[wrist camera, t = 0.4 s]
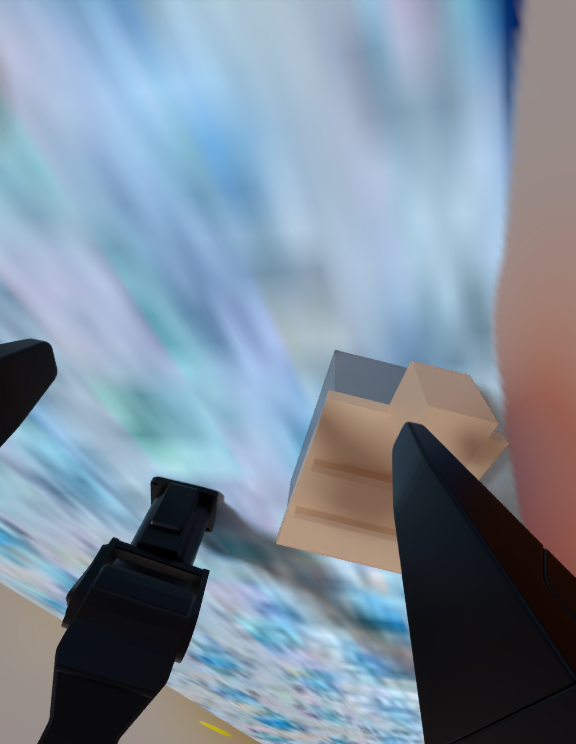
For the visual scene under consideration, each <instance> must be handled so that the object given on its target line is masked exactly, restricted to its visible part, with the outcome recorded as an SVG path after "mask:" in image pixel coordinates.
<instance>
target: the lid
mask: <svg viewBox="0 0 576 744" xmlns="http://www.w3.org/2000/svg"><path fill="white" fill-rule="evenodd" d="M406 422H414V423H418V424H422V425H424V426H425V427H426V428H427V429H428V430H429V431H430V432H431V433H432V434H433V435H434V436H435V437H436V438H437V439H438V440H439V441H440V442H441V443H442V444H443V445H444V446H445V447H446V448H447V449H448V450H449V451H450V452H451V453H452V454H453V455H454V456H455V457H456V458H457V459H458V460H459V461H460V462H461V463H462V464H463V465H464V466H465V467H466V468H467V469H468V470H469V471H470V472H471V473H472V474H473V475H474V476H475V477H476V478H477V479H478V480H479V479H480V478H481V477H482V476H483V475H484V473H485V472H486V471H487V470H488V469H489V467H490V466H491V465H492V464H493V463H494V461H495V460H496V459H497V458H498V457H499V455H500V454H501V453H502V452H503V451H504V449H505V448H506V447H507V446H508V444H509V442H508V441H507V439H506V437H505V436H504V434H503V433H501V432H497V431H494V430H495V429H496V427H497V426H498V425H499V422H498V421H497V419H496V417H495V416H494V414H493V412H492V411H491V409H490V408H489V406H488V404H487V403H486V401H485V399H484V398H483V396H482V394H481V393H480V391H479V389H478V388H477V386H476V385H475V383H474V381H473V380H472V378H471V376H470V375H467V374H463V373H459V372H455V371H451V370H447V369H443V368H439V367H435V366H431V365H427V364H423V363H419V362H415V361H411V362H410V364H409V366H408V368H407V370H406V372H405V374H404V376H403V378H402V380H401V382H400V384H399V386H398V388H397V390H396V392H395V394H394V396H393V398H392V400H391V402H390V404H389V405H388V404H384V403H380V402H376V401H372V400H368V399H364V398H360V397H356V396H352V395H348V394H344V393H340V392H336V391H332V390H328V393H327V396H326V398H325V401H324V404H323V407H322V410H321V413H320V415H319V418H318V421H317V424H316V427H315V430H314V432H313V435H312V438H311V441H310V444H309V447H308V450H307V452H306V455H305V458H304V461H303V464H302V467H301V469H300V472H299V475H298V478H297V481H296V484H295V486H294V489H293V492H292V495H291V498H290V501H289V503H288V506H287V509H286V512H285V515H284V518H283V521H282V523H281V526H280V529H279V532H278V536H277V542H276V544H279V545H283V546H288V547H292V548H296V549H300V550H304V551H308V552H312V553H317V554H321V555H325V556H329V557H333V558H337V559H341V560H346V561H350V562H354V563H358V564H362V565H366V566H370V567H375V568H379V569H383V570H387V571H391V572H395V573H399V574H401V565H400V558H399V550H398V543H397V536H396V528H395V521H394V512H393V486H392V449H393V445H394V443H395V441H396V439H397V437H398V435H399V433H400V431H401V429H402V427H403V425H404V424H405V423H406Z"/></svg>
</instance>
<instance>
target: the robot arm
mask: <svg viewBox="0 0 576 744" xmlns="http://www.w3.org/2000/svg"><path fill="white" fill-rule="evenodd" d="M56 376H57V366H56V362H55V357H54V353H53V349H52V346H51V345H50V344H49V343H48V342H46V341H42V340H37V339H24V340H19V341H14V342H9V343H4V344H0V447H1V446H2V445H3V444H4V443H5V442H6V441H7V439H8V438H9V437H10V436H11V435H12V434H13V433H14V432H15V431H16V429H17V428H18V427H19V426H20V425H21V423H22V422H23V421H24V420H25V418H26V417H27V416H28V414H29V413H30V412H31V410H32V409H33V408H34V406H35V405H36V404H37V402H38V401H39V400H40V398H41V397H42V396H43V394H44V393H45V392H46V390H47V389H48V388H49V386H50V385H51V384H52V382H53V381H54V380H55V378H56ZM392 486H393V512H394V521H395V528H396V536H397V543H398V550H399V558H400V565H401V573H402V580H403V587H404V595H405V602H406V609H407V617H408V624H409V631H410V639H411V646H412V654H413V661H414V668H415V676H416V683H417V690H418V698H419V705H420V712H421V720H422V727H423V735H424V742H425V744H576V577H574V576H573V575H572V574H571V573H570V572H569V571H568V570H567V569H566V568H565V567H564V566H563V565H562V564H561V563H560V562H559V561H558V560H557V559H556V558H555V557H554V556H553V555H552V554H551V553H550V552H549V551H548V550H547V549H543V545H542V544H541V543H540V542H539V541H538V540H537V539H536V538H535V537H534V536H533V535H532V534H531V533H530V532H529V531H528V530H527V529H526V528H525V527H524V526H523V524H522V523H521V522H520V521H519V520H518V519H517V518H516V517H515V516H514V515H513V514H512V513H511V512H510V511H509V510H508V509H507V508H506V507H505V506H504V505H503V504H502V503H501V502H500V501H499V500H498V499H497V498H496V497H495V496H494V495H493V494H492V493H491V492H490V491H489V490H488V489H487V488H486V487H485V486H484V485H483V484H482V483H481V482H480V481H479V480H478V479H477V478H476V477H475V476H474V475H473V474H472V473H471V472H470V471H469V470H468V469H467V468H466V467H465V466H464V465H463V464H462V463H461V462H460V461H459V460H458V459H457V458H456V457H455V456H454V455H453V454H452V453H451V452H450V451H449V450H448V449H447V448H446V447H445V446H444V445H443V444H442V443H441V442H440V441H439V440H438V439H437V438H436V437H435V436H434V435H433V434H432V433H431V432H430V431H429V430H428V429H427V428H426V427H425V426H424V425H422V424H418V423H414V422H406V423H405V424H404V425H403V427H402V429H401V431H400V433H399V435H398V437H397V439H396V441H395V443H394V445H393V449H392ZM217 500H218V493H217V492H215V491H212V490H208V489H204V488H199V487H195V486H191V485H187V484H183V483H179V482H175V481H171V480H166V479H162V478H158V477H154V478H153V479H152V481H151V507H150V509H149V511H148V512H147V514H146V516H145V518H144V520H143V522H142V524H141V526H140V527H139V529H138V531H137V533H136V535H135V537H134V539H133V541H132V542H131V544H128V543H125V542H122V541H119V539H117V538H115V537H113V538H112V539H111V541H110V542H109V544H105V545H102V547H101V548H100V550H99V552H98V553H97V555H96V557H95V558H94V560H93V562H92V563H91V564H90V566H89V567H88V568H87V570H86V571H85V572H84V573H83V575H82V576H81V577H80V578H79V580H78V581H77V582H76V583H75V585H74V586H73V587H72V588H71V590H70V591H69V593H68V594H67V597H66V601H67V605H68V607H67V609H66V612H65V614H66V615H65V617H64V619H63V622H62V627H64V628H67V630H66V632H65V634H64V635H63V637H62V639H61V641H60V643H59V645H58V647H57V649H56V654H55V665H54V675H53V687H52V697H51V708H50V718H49V722H48V724H47V726H46V728H45V730H44V732H43V734H42V736H41V738H40V740H39V742H38V743H37V744H118V741H119V739H120V738H121V736H122V735H123V734H124V733H125V732H126V730H127V729H128V728H129V727H130V726H131V724H132V723H133V722H134V721H135V720H136V719H137V718H138V716H139V715H140V714H141V713H142V712H143V710H144V709H145V708H146V707H147V706H148V705H149V703H150V702H151V701H152V700H153V699H154V698H155V696H156V695H157V694H158V693H159V692H160V690H161V689H162V688H163V687H164V686H165V684H166V683H167V681H168V679H169V676H170V673H171V670H172V667H173V664H174V662H178V663H181V661H182V660H183V657H184V655H185V653H186V651H187V648H188V646H189V643H190V641H191V638H192V635H193V632H194V629H195V626H196V622H197V619H198V615H199V611H200V607H201V603H202V599H203V595H204V591H205V587H206V583H207V579H208V575H209V571H210V570H207V569H200V568H198V567H195V566H193V563H194V560H195V558H196V555H197V552H198V549H199V546H200V543H201V541H202V538H203V535H204V532H211V531H212V530H213V527H214V520H215V513H216V507H217Z"/></svg>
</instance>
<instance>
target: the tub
mask: <svg viewBox="0 0 576 744" xmlns="http://www.w3.org/2000/svg"><path fill="white" fill-rule="evenodd" d="M406 370H407V368H405V367H401V366H397V365H393V364H389V363H385V362H381V361H377V360H373V359H369V358H365V357H361V356H357V355H353V354H349V353H345V352H341V351H337V350H335V352H334V355H333V358H332V361H331V364H330V367H329V370H328V373H327V376H326V379H325V382H324V385H323V387H322V390H321V393H320V396H319V399H318V402H317V405H316V408H315V411H314V414H313V417H312V420H311V423H310V426H309V429H308V432H307V435H306V438H305V441H304V444H303V447H302V450H301V453H300V456H299V459H298V462H297V464H296V467H295V470H294V473H293V476H292V479H291V483H290V490H289V497H288V503H289V501H290V498H291V495H292V492H293V489H294V486H295V484H296V481H297V478H298V475H299V472H300V469H301V467H302V464H303V461H304V458H305V455H306V452H307V450H308V447H309V444H310V441H311V438H312V435H313V432H314V430H315V427H316V424H317V421H318V418H319V415H320V413H321V410H322V407H323V404H324V401H325V398H326V396H327V393H328V390H332V391H336V392H340V393H344V394H348V395H352V396H356V397H360V398H364V399H368V400H372V401H376V402H380V403H384V404H388V405H389V404H390V402H391V400H392V398H393V396H394V394H395V392H396V390H397V388H398V386H399V384H400V382H401V380H402V378H403V376H404V374H405V372H406ZM287 506H288V504H287Z"/></svg>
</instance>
